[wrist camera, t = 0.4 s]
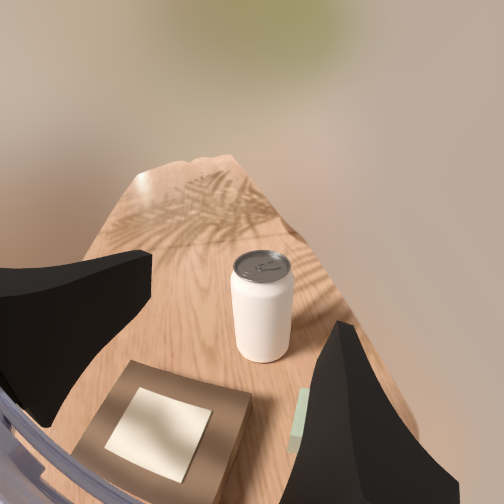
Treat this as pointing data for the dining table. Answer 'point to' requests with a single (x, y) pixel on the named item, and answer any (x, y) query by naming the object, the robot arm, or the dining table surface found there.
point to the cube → (298, 421)
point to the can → (262, 304)
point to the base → (166, 436)
